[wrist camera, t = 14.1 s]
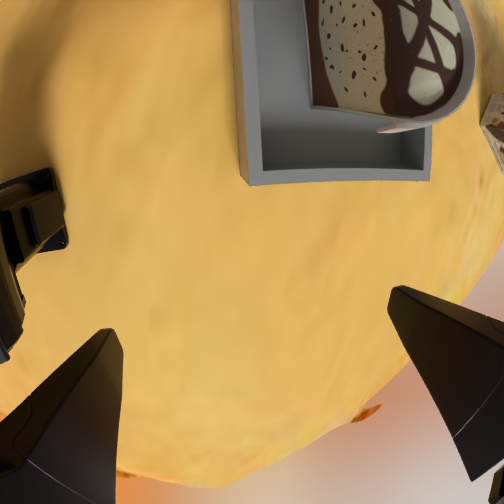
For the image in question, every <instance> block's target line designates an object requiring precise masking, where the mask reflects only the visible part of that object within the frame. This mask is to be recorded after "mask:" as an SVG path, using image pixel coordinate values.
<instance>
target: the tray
mask: <svg viewBox="0 0 504 504" xmlns="http://www.w3.org/2000/svg"><path fill="white" fill-rule="evenodd" d="M230 7H231V26H232V45H233V63H234V80H235V97H236V114H237V130H238V146H239V162H240V176H241V177H242V178H243V179H244V180H245V182H246V183H247V184H248V185H249V186H258V185H271V184H286V183H303V182H325V181H367V180H393V181H430V171H431V153H432V125H430V126H427V127H422V128H417V129H413V130H408V131H402V132H396V133H377V129H380V128H383V127H387V126H390V125H394V122H393V121H389V120H384V119H379V118H374V117H368V116H362V115H356V114H350V113H343V112H336V111H328V110H319V109H310V96H309V78H308V64H307V51H306V40H305V29H304V20H303V11H302V3H301V0H230Z"/></svg>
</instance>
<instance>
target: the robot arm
mask: <svg viewBox="0 0 504 504" xmlns="http://www.w3.org/2000/svg"><path fill="white" fill-rule="evenodd" d="M46 172H48V173H49V176H48V177H47V175H46ZM1 188H2V190H1ZM64 224H65V221H64V217H63V212H62V208H61V203H60V198H59V194H58V192H57V189H56V183H55V177H54V172H53V169H52V168H50V167H47V168H44V169H41V170H38V171H35V172H32V173H29V174H26V175H24V176H21V177H18V178H15V179H13V180H10V181H7V182H5V183H2V184H0V364H2V363H4V362H6V361H8V360H9V359H10V356H9V354H8V352H9V351H10V350H11V349H12V348H13V346H14V345H15V344H16V343H17V341H18V340H19V338H20V337H21V335H22V333H23V328H22V324H23V320H24V316H25V312H24V308H25V304H26V300H25V297H24V295H23V294H22V292H21V289H20V286H19V283H18V280H17V277H16V272H17V271H18V270H19V269H20V268H21V267H22V266H23V265H25V264H26V263H27V262H28V261H29V260H30V259H31V258H32V257H33V256H34V255H35V254H36V253H42V252H48V251H54V250H60V249H64V248H66V247H67V246H68V243H69V241H68V237H67V233H66V229H65V225H64ZM61 240H63V241H64V244H63V243H62V242H61ZM387 311H388V314H389V316H390V318H391V320H392V322H393V325H394V327H395V329H396V331H397V333H398V335H399V337H400V339H401V341H402V343H403V346H404V348H405V349H406V351H407V353H408V355H409V356H410V358H411V360H412V361H413V363H414V365H415V367H416V368H417V370H418V372H419V374H420V376H421V377H422V379H423V381H424V383H425V385H426V387H427V388H428V390H429V392H430V394H431V396H432V398H433V400H434V402H435V404H436V405H437V407H438V409H439V411H440V413H441V415H442V417H443V419H444V421H445V423H446V426H447V427H448V430H449V432H450V434H451V436H452V438H453V441H454V443H455V445H456V447H457V449H458V452H459V454H460V456H461V459H462V461H463V464H464V466H465V468H466V471H467V473H468V476H469V478H470V480H471V482H473V481H474V480H476V479H477V478H479V477H480V476H482V475H483V474H485V473H486V472H487V471H489V470H490V469H491V468H493V467H494V466H495V465H497V464H498V463H499V462H500V461H501V460H503V459H504V322H502V321H499V320H497V319H494V318H491V317H489V316H487V317H486V316H485V315H483V314H481V313H478V312H475V311H473V310H470V309H467V308H465V307H462V306H459V305H457V304H454V303H451V302H449V301H446V300H443V299H440V298H438V297H435V296H432V295H429V294H427V293H424V292H421V291H418V290H416V289H413V288H410V287H407V286H404V285H400V286H396V287H394V288H393V289H392V290H391V294H390V298H389V302H388V307H387ZM122 378H123V349H122V346H121V344H120V342H119V339H118V337H117V335H116V332H115V331H114V329H112V328H105V329H100V330H99V331H98V332H97V333H96V334H94V335H93V336H92V337H91V338H90V339H89V340H88V341H87V342H85V343H84V344H83V345H82V346H81V347H80V348H79V349H78V350H77V351H76V352H74V353H73V354H72V355H71V356H70V357H69V358H68V359H67V360H66V361H65V362H64V363H63V364H61V365H60V366H59V367H58V368H57V369H56V370H55V371H54V372H53V373H52V374H51V375H50V376H49V377H48V378H47V379H46V380H44V381H43V382H42V383H41V384H40V385H39V386H38V387H37V388H36V389H35V390H34V391H33V392H32V393H31V396H30V395H29V396H28V397H27V398H26V399H25V400H24V401H23V402H22V403H21V404H20V405H19V406H18V407H17V408H16V409H15V410H13V411H12V412H11V413H10V414H9V415H8V416H7V417H6V418H5V419H3V420H2V421H1V422H0V504H115V503H116V501H115V487H116V485H115V484H116V457H117V442H118V429H119V419H120V410H121V401H122ZM488 501H489V503H490V504H504V465H503V466H502V467H501V468H500V469H499V470H497V471H496V473H494V478H493V483H492V487H491V492H490V495H489V500H488Z"/></svg>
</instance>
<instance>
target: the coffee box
mask: <svg viewBox="0 0 504 504" xmlns="http://www.w3.org/2000/svg"><path fill="white" fill-rule="evenodd" d="M480 126H481V128H482V130H483V132H484V134H485V136H486V138H487V140H488V142H489V144H490V146H491V148H492V151H493V153H494V155H495V157H496V160H497V162H498V164H499V167H500V169H501V172H502V174H503V175H504V94H497V93H492V95H491V98H490V100H489V103H488V105H487V108H486V110H485V113H484V115H483V117H482V120H481V122H480Z"/></svg>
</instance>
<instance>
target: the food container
mask: <svg viewBox="0 0 504 504" xmlns="http://www.w3.org/2000/svg"><path fill="white" fill-rule="evenodd" d="M301 3H302V11H303V20H304V29H305V40H306V51H307V64H308V78H309V96H310V109H319V110H328V111H336V112H343V113H350V114H356V115H362V116H368V117H374V118H379V119H384V120H389V121H393V122H394V125H390V126H387V127H383V128H380V129H377V133H396V132H402V131H408V130H413V129H417V128H422V127H427V126H430V125H432V124H435V123H437V122H440V121H441V120H442V119H444V118H446V117H448V116H450V115H451V114H452V113H454V112H455V111H457V110H458V109H459V108H460V106H461V105H462V104H463V103H464V102H465V100H466V99H467V97H468V95H469V93H470V91H471V88H472V85H473V82H474V79H475V72H476V47H475V41H474V36H473V32H472V28H471V25H470V22H469V19H468V16H467V14H466V11H465V9H464V7H463V5H462V3H461V1H460V0H301Z"/></svg>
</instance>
